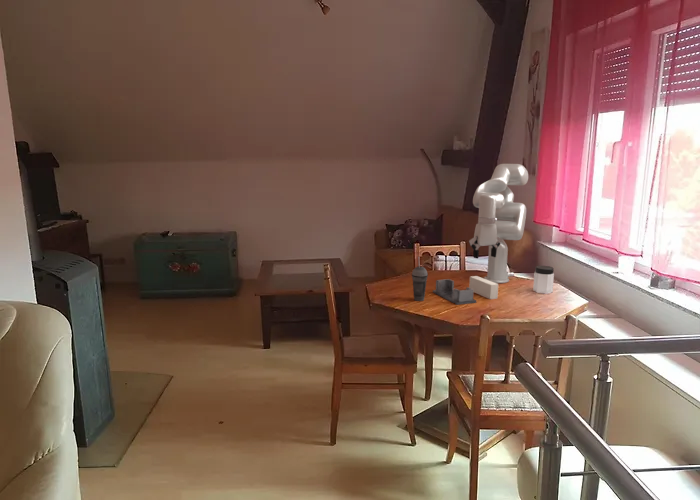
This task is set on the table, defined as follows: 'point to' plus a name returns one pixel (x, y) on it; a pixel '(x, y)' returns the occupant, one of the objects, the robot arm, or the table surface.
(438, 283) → the bracket board
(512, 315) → the table surface
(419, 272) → the beverage cup
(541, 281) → the jar
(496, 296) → the rail
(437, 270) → the table surface
